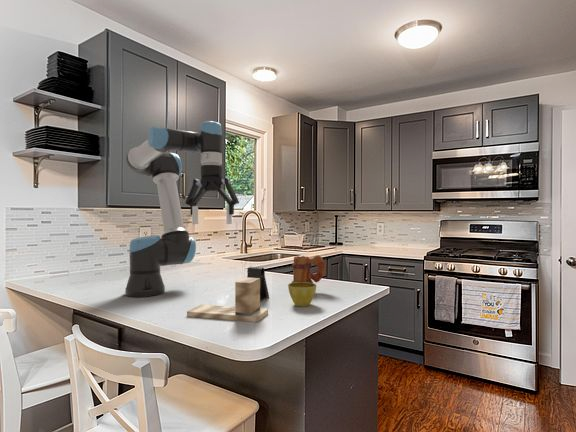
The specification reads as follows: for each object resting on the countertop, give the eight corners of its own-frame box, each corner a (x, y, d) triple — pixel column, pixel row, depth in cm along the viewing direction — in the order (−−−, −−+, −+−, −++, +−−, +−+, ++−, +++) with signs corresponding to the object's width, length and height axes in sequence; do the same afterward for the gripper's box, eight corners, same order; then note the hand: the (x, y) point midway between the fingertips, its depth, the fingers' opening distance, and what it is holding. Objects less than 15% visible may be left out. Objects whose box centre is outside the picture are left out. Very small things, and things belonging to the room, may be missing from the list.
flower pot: (312, 300, 132) (312, 281, 132) (319, 307, 122) (319, 286, 122) (286, 302, 130) (285, 282, 130) (290, 309, 120) (290, 288, 120)
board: (187, 316, 113) (186, 311, 113) (201, 308, 121) (201, 304, 121) (257, 322, 106) (257, 316, 106) (267, 313, 115) (267, 309, 115)
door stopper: (256, 302, 130) (256, 269, 129) (242, 300, 132) (242, 268, 132) (269, 297, 137) (268, 266, 137) (256, 295, 140) (255, 265, 140)
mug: (288, 291, 147) (287, 255, 147) (295, 287, 154) (294, 253, 154) (322, 294, 141) (321, 256, 141) (327, 290, 149) (327, 254, 149)
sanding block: (235, 314, 108) (235, 281, 108) (245, 307, 116) (245, 277, 116) (250, 316, 107) (250, 282, 107) (259, 309, 115) (260, 278, 115)
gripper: (175, 165, 128) (175, 224, 129) (239, 162, 122) (239, 224, 122) (186, 168, 136) (187, 223, 136) (247, 165, 129) (248, 223, 129)
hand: (212, 224), depth 129 cm, fingers open, 13 cm apart
